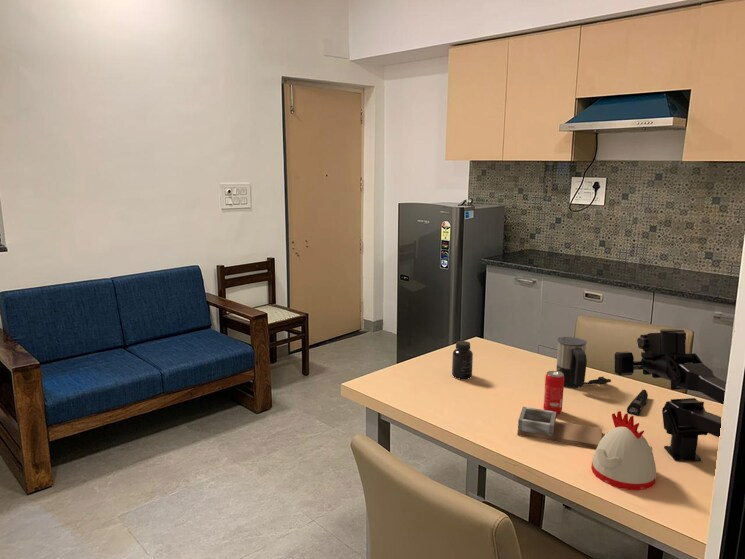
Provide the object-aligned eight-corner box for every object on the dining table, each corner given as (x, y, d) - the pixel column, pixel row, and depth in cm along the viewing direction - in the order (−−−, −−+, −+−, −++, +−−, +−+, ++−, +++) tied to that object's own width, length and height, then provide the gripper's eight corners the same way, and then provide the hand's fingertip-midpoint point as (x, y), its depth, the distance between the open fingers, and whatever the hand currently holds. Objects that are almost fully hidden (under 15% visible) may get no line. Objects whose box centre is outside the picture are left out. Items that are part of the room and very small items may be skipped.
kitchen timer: (618, 453, 143) (623, 398, 140) (668, 480, 131) (675, 420, 128) (578, 467, 136) (583, 409, 133) (628, 496, 125) (634, 434, 121)
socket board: (601, 432, 154) (602, 418, 153) (601, 449, 145) (602, 434, 144) (522, 419, 161) (523, 405, 160) (517, 435, 152) (518, 420, 151)
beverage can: (541, 413, 165) (544, 375, 162) (545, 407, 169) (547, 369, 167) (559, 417, 163) (562, 378, 160) (563, 410, 167) (565, 372, 165)
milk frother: (548, 379, 191) (551, 337, 188) (586, 373, 196) (589, 332, 193) (577, 396, 178) (580, 351, 175) (616, 389, 183) (621, 345, 180)
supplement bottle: (448, 374, 195) (449, 341, 193) (464, 371, 198) (465, 338, 196) (459, 381, 189) (460, 347, 187) (476, 378, 192) (477, 344, 190)
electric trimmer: (650, 400, 176) (651, 390, 175) (639, 417, 164) (640, 406, 163) (637, 397, 178) (638, 387, 177) (625, 413, 166) (626, 403, 165)
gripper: (698, 335, 149) (661, 328, 164) (631, 338, 147) (600, 330, 162) (698, 377, 149) (661, 366, 165) (631, 380, 147) (600, 369, 163)
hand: (631, 357), depth 164 cm, fingers open, 9 cm apart
